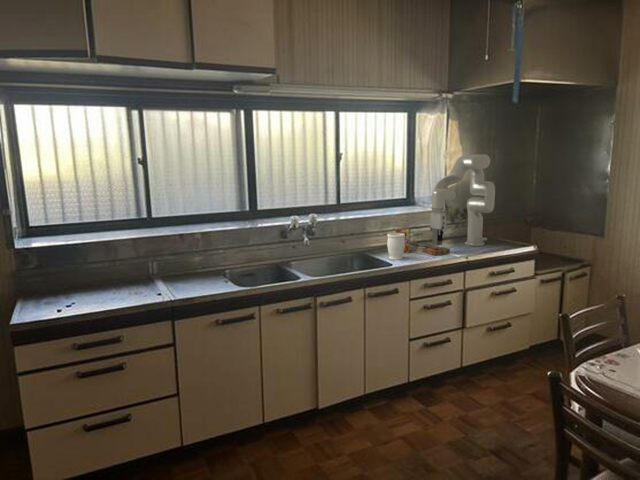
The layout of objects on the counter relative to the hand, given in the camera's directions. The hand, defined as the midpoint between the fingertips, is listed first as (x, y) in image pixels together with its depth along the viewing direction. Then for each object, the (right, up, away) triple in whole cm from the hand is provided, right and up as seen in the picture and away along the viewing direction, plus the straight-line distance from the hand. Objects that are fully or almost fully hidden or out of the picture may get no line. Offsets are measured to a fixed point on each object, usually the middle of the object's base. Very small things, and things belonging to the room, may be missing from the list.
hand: (437, 239), depth 298 cm
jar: (-26, -11, -4) cm, 29 cm away
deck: (+7, -7, +15) cm, 18 cm away
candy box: (-19, -8, +12) cm, 24 cm away
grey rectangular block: (0, -3, 0) cm, 3 cm away
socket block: (-2, -9, +6) cm, 11 cm away
